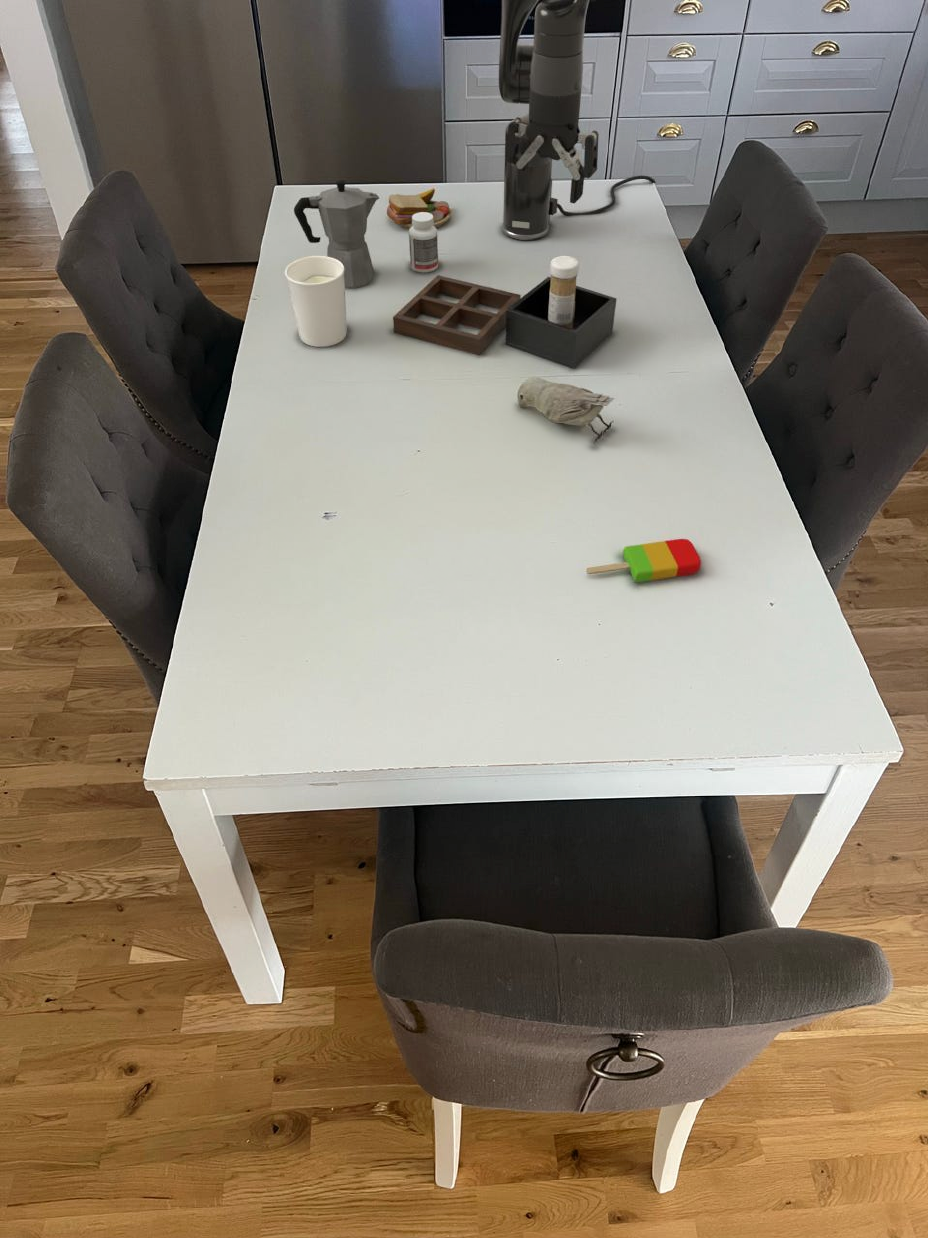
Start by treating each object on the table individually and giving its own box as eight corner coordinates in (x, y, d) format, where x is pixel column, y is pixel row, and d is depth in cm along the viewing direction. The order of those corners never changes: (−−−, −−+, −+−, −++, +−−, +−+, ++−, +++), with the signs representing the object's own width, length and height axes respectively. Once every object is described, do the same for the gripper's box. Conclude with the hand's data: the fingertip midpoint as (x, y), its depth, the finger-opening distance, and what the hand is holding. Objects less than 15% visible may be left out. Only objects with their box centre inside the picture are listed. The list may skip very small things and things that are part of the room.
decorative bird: (528, 397, 148) (530, 357, 142) (616, 432, 142) (622, 391, 136) (509, 414, 145) (511, 373, 140) (598, 450, 139) (604, 408, 133)
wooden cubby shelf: (438, 289, 172) (437, 274, 170) (520, 310, 167) (520, 294, 164) (393, 332, 162) (392, 316, 160) (479, 355, 157) (479, 339, 154)
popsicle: (702, 574, 121) (705, 563, 119) (592, 591, 119) (593, 580, 117) (687, 546, 124) (689, 535, 123) (580, 562, 122) (581, 551, 121)
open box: (546, 311, 166) (548, 276, 162) (612, 333, 161) (616, 298, 156) (505, 344, 159) (506, 309, 154) (573, 368, 154) (576, 333, 149)
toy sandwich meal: (456, 228, 189) (456, 205, 185) (391, 235, 187) (390, 211, 184) (445, 202, 197) (444, 180, 194) (382, 208, 195) (381, 186, 192)
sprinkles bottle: (573, 329, 161) (580, 255, 151) (570, 343, 158) (577, 268, 148) (547, 327, 161) (552, 253, 151) (544, 341, 158) (549, 266, 148)
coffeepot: (380, 261, 179) (373, 165, 166) (388, 284, 173) (381, 187, 160) (301, 270, 177) (287, 174, 164) (306, 294, 171) (292, 196, 158)
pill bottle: (444, 266, 178) (442, 216, 171) (423, 276, 175) (421, 225, 168) (425, 257, 181) (423, 207, 173) (404, 266, 178) (401, 216, 171)
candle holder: (284, 343, 160) (273, 277, 151) (311, 315, 166) (302, 251, 157) (335, 354, 157) (327, 288, 148) (360, 326, 163) (354, 261, 154)
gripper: (610, 83, 134) (599, 195, 146) (521, 68, 138) (517, 178, 150) (592, 100, 130) (582, 214, 142) (500, 85, 134) (498, 197, 146)
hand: (549, 196), depth 146 cm, fingers open, 8 cm apart
